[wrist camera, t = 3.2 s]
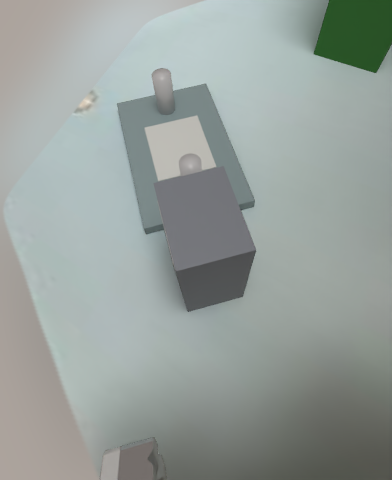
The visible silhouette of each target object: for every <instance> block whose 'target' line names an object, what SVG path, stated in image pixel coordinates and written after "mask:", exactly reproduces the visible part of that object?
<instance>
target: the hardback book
mask: <svg viewBox="0 0 392 480" xmlns="http://www.w3.org/2000/svg"><path fill="white" fill-rule="evenodd" d="M391 44H392V0H329V3H328V7H327V10H326V14H325V17H324V21H323V24H322V27H321V31H320V34H319V38H318V41H317V45H316V48H315V51H314V54H315V55H318V56H321V57H325V58H328V59H331V60H334V61H338V62H341V63H344V64H348V65H351V66H354V67H357V68H361V69H364V70H367V71H371V72H374V73H376V72H377V70H378V69H379V67H380V65H381V63H382V61H383V59H384V57H385V56H386V54H387V52H388V50H389V48H390V46H391Z"/></svg>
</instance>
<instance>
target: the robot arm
mask: <svg viewBox="0 0 392 480" xmlns="http://www.w3.org/2000/svg"><path fill="white" fill-rule="evenodd" d="M100 480H167V475H166V468H165V464H164V461H163V458H162V455H160V454H158V444H157V441H156V439H155V437H152V438H148V439H145V440H141V441H138V442H134V443H130V444H127V445H123V446H120V447H117V448H113V449H110V450H106V451H105V453H104V455H103V460H102V467H101V474H100Z"/></svg>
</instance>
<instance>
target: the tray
mask: <svg viewBox="0 0 392 480" xmlns="http://www.w3.org/2000/svg"><path fill="white" fill-rule="evenodd" d="M152 80H153V85H154V90H155V95H153V96H149V97H144V98H140V99H135V100H131V101H126V102H122V103H117V106H118V111H119V115H120V120H121V125H122V129H123V134H124V138H125V143H126V148H127V152H128V157H129V161H130V166H131V171H132V175H133V180H134V184H135V189H136V194H137V198H138V203H139V207H140V212H141V217H142V221H143V226H144V230H145V232H146V234H148V233H152V232H156V231H160V230H164V226H163V222H162V218H161V214H160V210H159V206H158V202H157V201H158V200H157V196H156V192H155V188H154V184H153V183H156V182H160V181H164V180H168V179H172V178H176V177H181V176H185V175H189V174H193V173H197V172H201V171H205V170H209V169H213V168H217V167H221V166H224V168H225V171H226V174H227V176H228V179H229V181H230V184H231V186H232V189H233V192H234V194H235V197H236V199H237V202H238V204H239V207H240V210H242V209H246V208H250V207H254V203H255V199H254V197H253V195H252V192H251V190H250V187H249V185H248V183H247V180H246V178H245V176H244V173H243V171H242V168H241V166H240V164H239V161H238V159H237V156H236V154H235V152H234V149H233V147H232V145H231V142H230V140H229V137H228V135H227V133H226V130H225V128H224V125H223V123H222V121H221V118H220V116H219V113H218V111H217V109H216V106H215V104H214V102H213V99H212V97H211V94H210V92H209V90H208V87H207V85H206V84H202V85H198V86H193V87H189V88H184V89H180V90H175V91H173V87H172V80H171V73H170V71H169V70H168V69H164V68H160V69H157V70H155V71H154V72H153V73H152Z"/></svg>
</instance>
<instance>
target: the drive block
mask: <svg viewBox="0 0 392 480" xmlns="http://www.w3.org/2000/svg"><path fill="white" fill-rule="evenodd" d="M153 184H154V188H155V192H156V196H157V200H158V201H157V202H158V206H159V210H160V214H161V218H162V222H163V226H164V230H165V234H166V238H167V242H168V246H169V250H170V254H171V258H172V262H173V266H174V269H175V271H176V275H177V278H178V281H179V284H180V288H181V291H182V294H183V298H184V301H185V304H186V307H187V311H188V312H189V311H193V310H196V309H200V308H204V307H207V306H211V305H214V304H218V303H222V302H225V301H229V300H233V299H236V298H240V297H243V293H244V290H245V287H246V283H247V280H248V276H249V273H250V269H251V266H252V263H253V259H254V256H255V252H256V248H255V246H254V243H253V241H252V238H251V235H250V233H249V230H248V228H247V225H246V223H245V220H244V217H243V215H242V212H241V210H240V207H239V204H238V202H237V199H236V197H235V194H234V192H233V189H232V186H231V184H230V181H229V179H228V176H227V174H226V171H225V168H224V166H221V167H217V168H213V169H209V170H205V171H201V172H197V173H193V174H189V175H185V176H181V177H176V178H172V179H168V180H164V181H160V182H156V183H153Z"/></svg>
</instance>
